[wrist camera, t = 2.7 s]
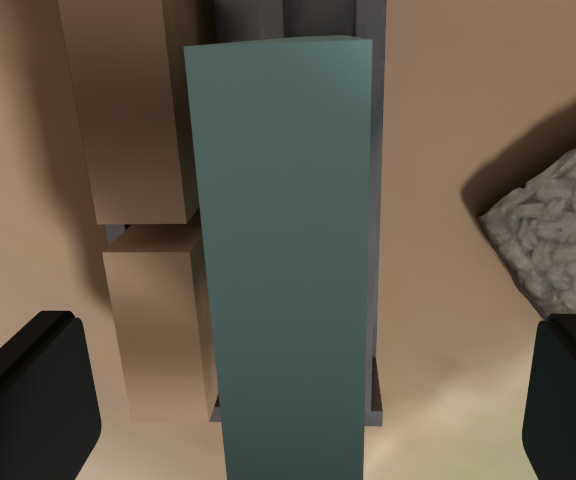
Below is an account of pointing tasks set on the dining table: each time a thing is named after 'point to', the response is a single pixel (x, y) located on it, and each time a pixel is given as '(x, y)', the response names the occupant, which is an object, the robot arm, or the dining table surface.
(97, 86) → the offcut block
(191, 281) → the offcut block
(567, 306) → the stone slab
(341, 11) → the metal rack
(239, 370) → the teal board
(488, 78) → the dining table surface
